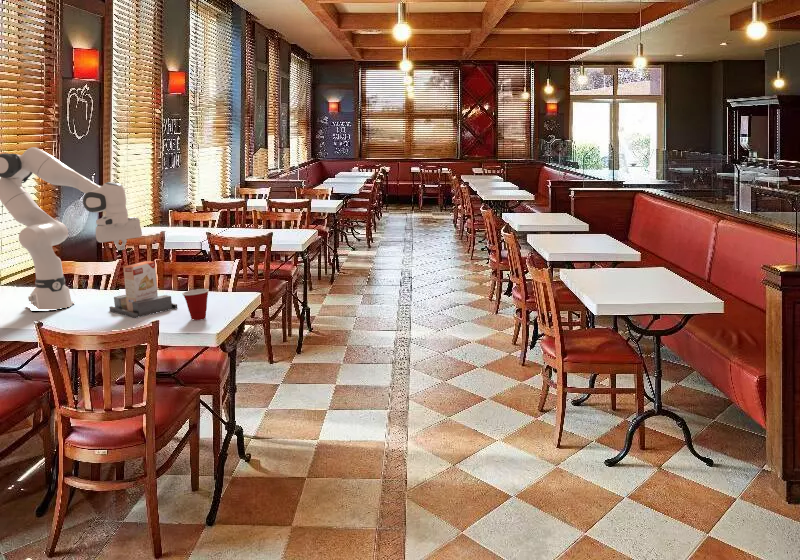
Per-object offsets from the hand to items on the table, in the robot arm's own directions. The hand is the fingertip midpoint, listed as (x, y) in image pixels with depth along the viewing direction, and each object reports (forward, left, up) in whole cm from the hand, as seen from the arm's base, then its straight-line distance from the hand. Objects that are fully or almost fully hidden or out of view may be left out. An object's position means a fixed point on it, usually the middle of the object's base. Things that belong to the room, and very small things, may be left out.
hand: (121, 249), depth 323 cm
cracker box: (+14, 0, -26) cm, 30 cm away
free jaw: (+6, 0, -26) cm, 27 cm away
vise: (+15, 0, -26) cm, 30 cm away
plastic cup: (+48, +5, -26) cm, 55 cm away
